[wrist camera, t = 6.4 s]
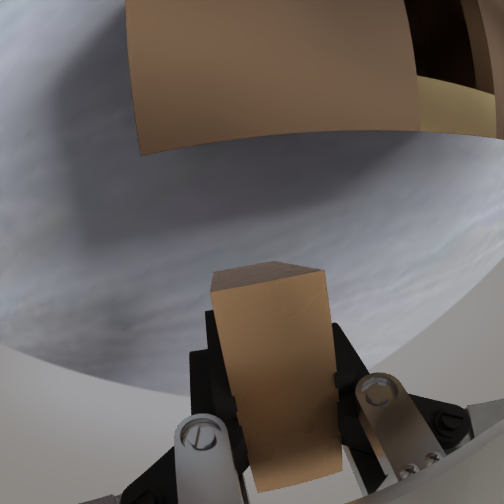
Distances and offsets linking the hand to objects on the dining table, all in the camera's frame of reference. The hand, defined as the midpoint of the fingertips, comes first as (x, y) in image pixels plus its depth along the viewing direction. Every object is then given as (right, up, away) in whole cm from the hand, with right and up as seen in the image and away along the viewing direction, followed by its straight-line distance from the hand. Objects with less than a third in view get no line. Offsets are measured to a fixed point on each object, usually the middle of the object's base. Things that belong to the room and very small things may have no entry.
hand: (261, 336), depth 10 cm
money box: (+4, +17, +6) cm, 18 cm away
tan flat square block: (0, -1, +2) cm, 2 cm away
